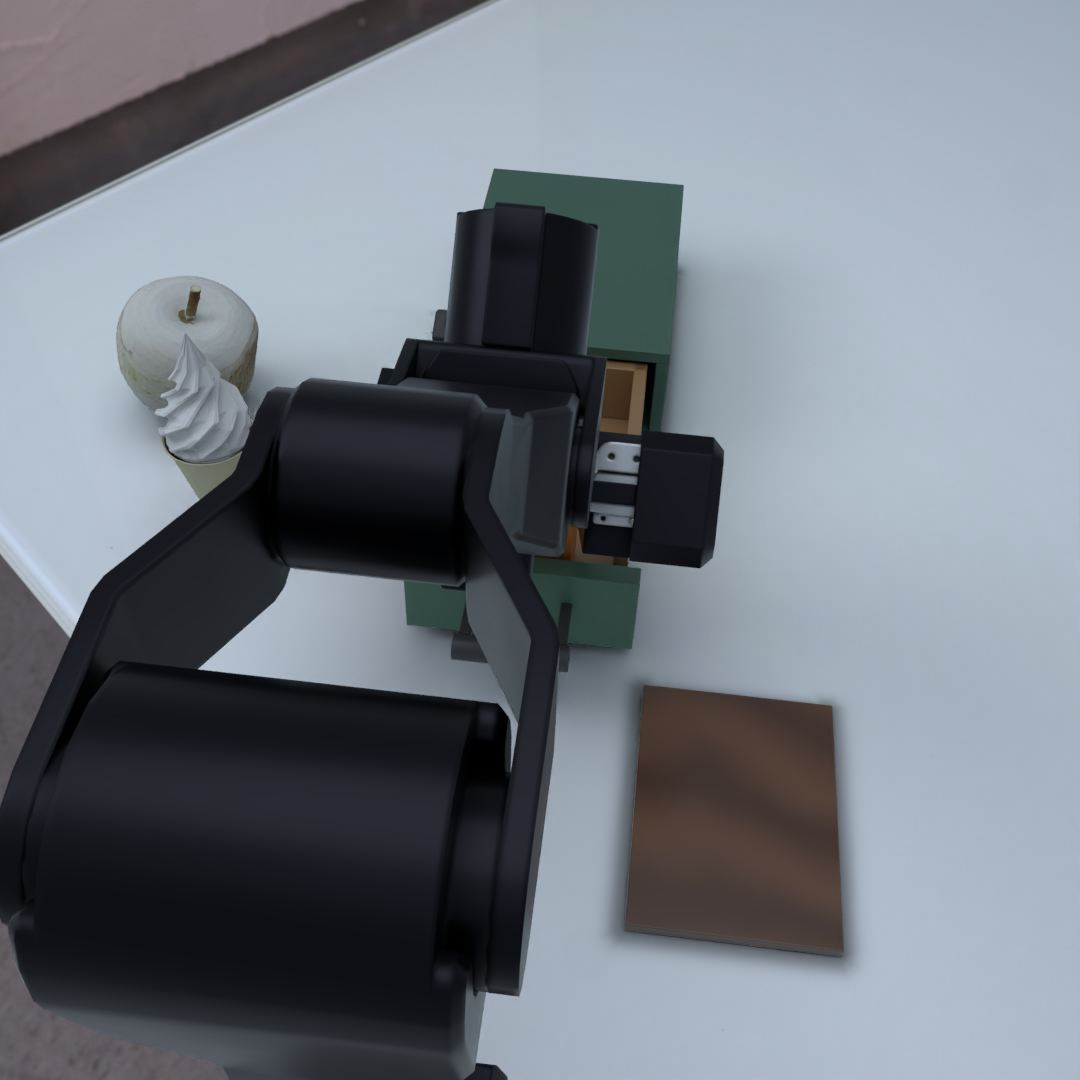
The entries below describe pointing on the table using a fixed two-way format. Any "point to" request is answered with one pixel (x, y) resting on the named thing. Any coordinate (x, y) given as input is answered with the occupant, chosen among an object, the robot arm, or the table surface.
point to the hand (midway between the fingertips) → (533, 489)
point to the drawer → (562, 564)
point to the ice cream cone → (203, 421)
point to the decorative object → (159, 329)
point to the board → (736, 822)
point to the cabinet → (618, 263)
